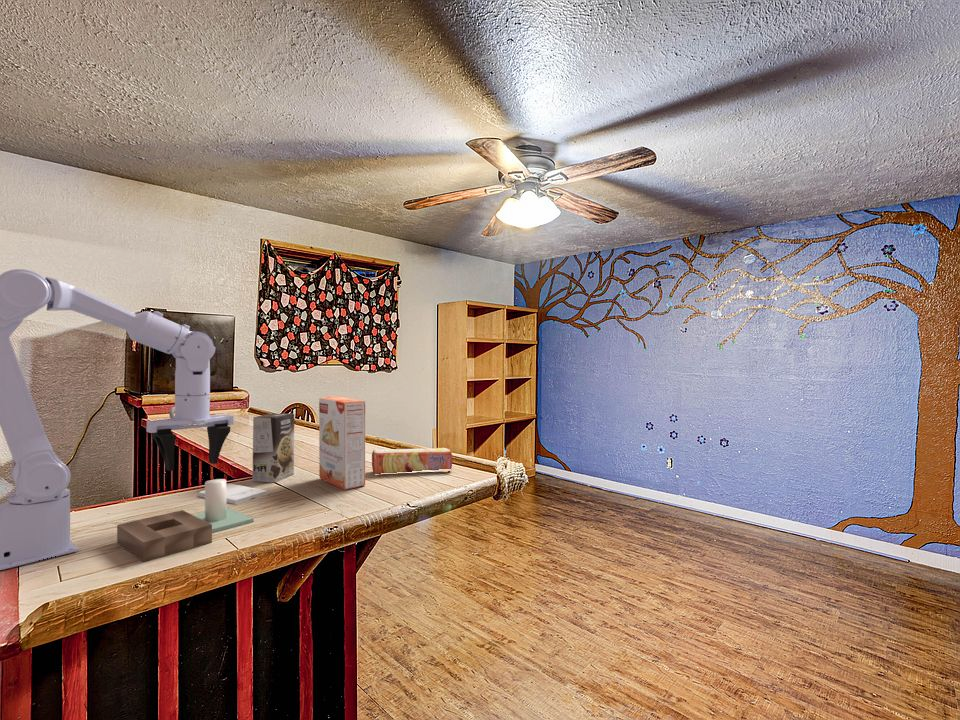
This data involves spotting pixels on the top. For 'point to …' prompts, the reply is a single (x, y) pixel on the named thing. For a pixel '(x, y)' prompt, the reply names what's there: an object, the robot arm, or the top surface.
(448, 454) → the snack package
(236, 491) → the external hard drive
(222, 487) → the plug
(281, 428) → the coffee box
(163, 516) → the brown socket block
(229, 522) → the mat
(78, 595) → the top surface
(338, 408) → the cracker box
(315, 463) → the top surface
